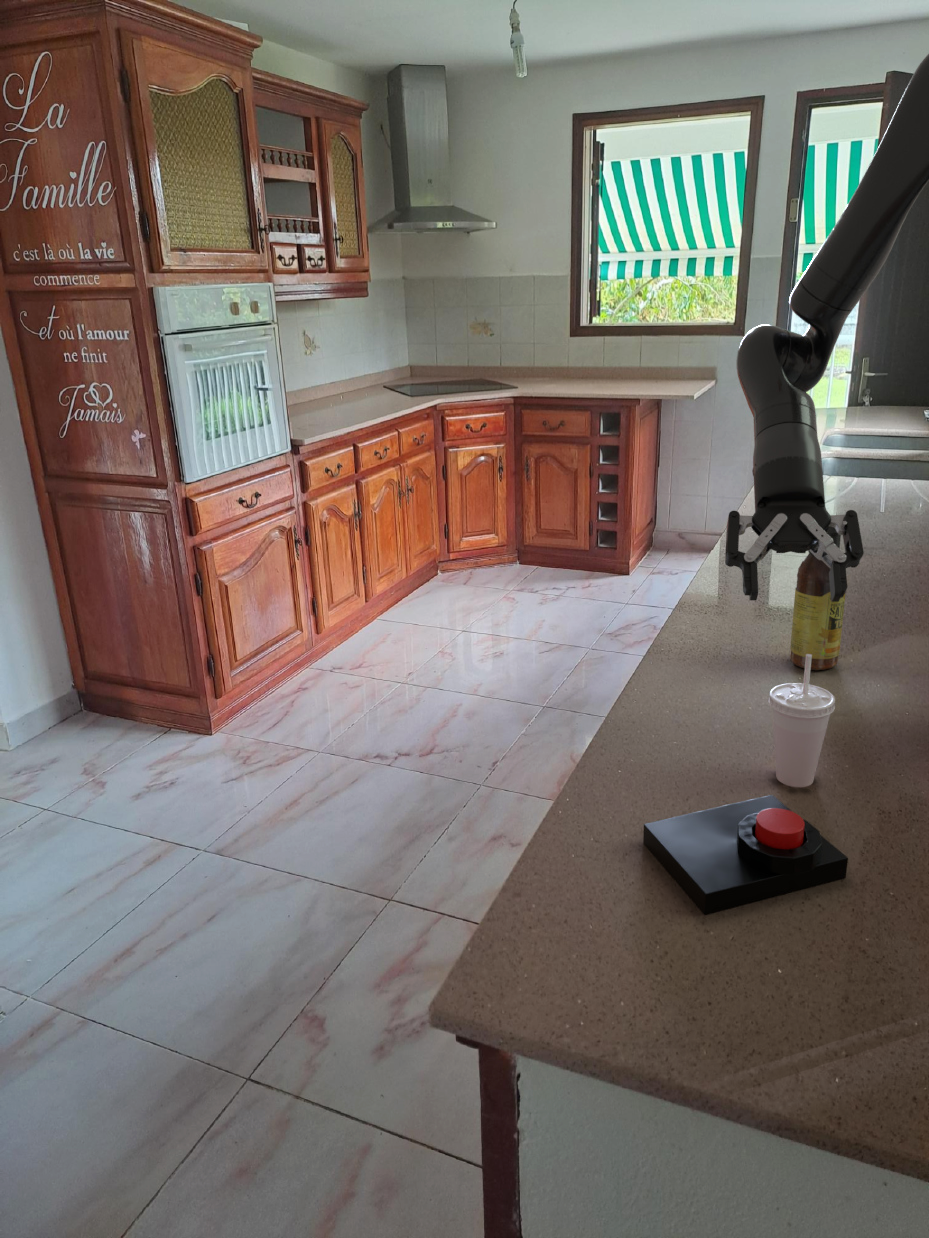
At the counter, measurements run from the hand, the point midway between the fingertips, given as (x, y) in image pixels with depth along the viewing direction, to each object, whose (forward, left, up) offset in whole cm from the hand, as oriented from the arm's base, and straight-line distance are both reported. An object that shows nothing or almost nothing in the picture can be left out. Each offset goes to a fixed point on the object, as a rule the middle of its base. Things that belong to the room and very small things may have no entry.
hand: (795, 598), depth 96 cm
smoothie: (+1, +9, -17) cm, 19 cm away
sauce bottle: (-10, -21, -17) cm, 29 cm away
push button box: (+10, +23, -17) cm, 31 cm away
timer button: (+8, +25, -13) cm, 29 cm away
